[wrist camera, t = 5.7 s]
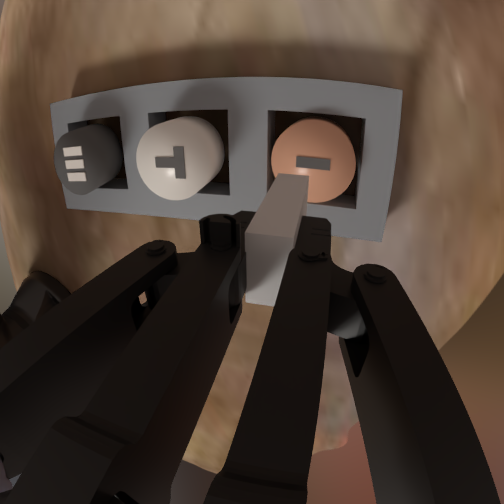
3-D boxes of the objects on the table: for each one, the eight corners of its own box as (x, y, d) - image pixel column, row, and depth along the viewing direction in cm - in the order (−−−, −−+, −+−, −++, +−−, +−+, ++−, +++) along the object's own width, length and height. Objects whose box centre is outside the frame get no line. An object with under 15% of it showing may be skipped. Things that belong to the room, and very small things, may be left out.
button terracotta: (278, 183, 27) (270, 198, 24) (280, 113, 23) (271, 118, 20) (349, 191, 25) (350, 207, 22) (356, 120, 22) (359, 126, 19)
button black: (82, 181, 29) (59, 194, 26) (74, 126, 26) (49, 135, 23) (126, 182, 28) (103, 196, 25) (119, 120, 25) (93, 128, 22)
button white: (162, 183, 27) (140, 198, 24) (156, 117, 24) (131, 124, 21) (225, 187, 26) (209, 203, 23) (223, 115, 23) (205, 121, 20)
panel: (83, 198, 33) (67, 208, 31) (69, 99, 27) (49, 103, 25) (378, 226, 27) (381, 242, 24) (395, 89, 20) (402, 90, 18)
